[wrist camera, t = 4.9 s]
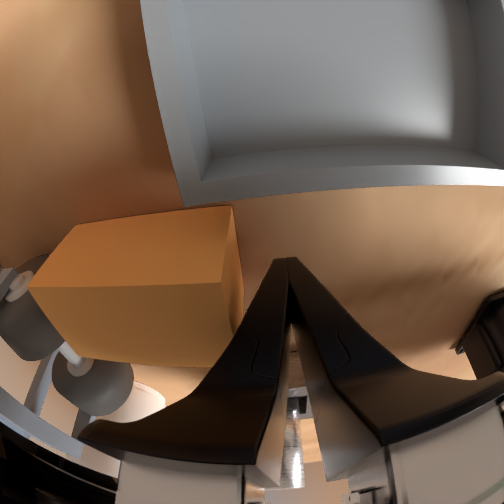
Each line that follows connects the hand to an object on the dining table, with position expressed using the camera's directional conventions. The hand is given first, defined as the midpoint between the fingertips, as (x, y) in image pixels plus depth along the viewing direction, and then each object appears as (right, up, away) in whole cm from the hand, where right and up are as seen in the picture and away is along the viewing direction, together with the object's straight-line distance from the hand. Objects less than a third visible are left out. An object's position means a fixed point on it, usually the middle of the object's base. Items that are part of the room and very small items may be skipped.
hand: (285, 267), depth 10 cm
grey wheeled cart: (-13, -3, +4) cm, 14 cm away
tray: (+2, +7, -4) cm, 8 cm away
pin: (+1, -8, +7) cm, 11 cm away
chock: (-5, 0, +1) cm, 5 cm away
